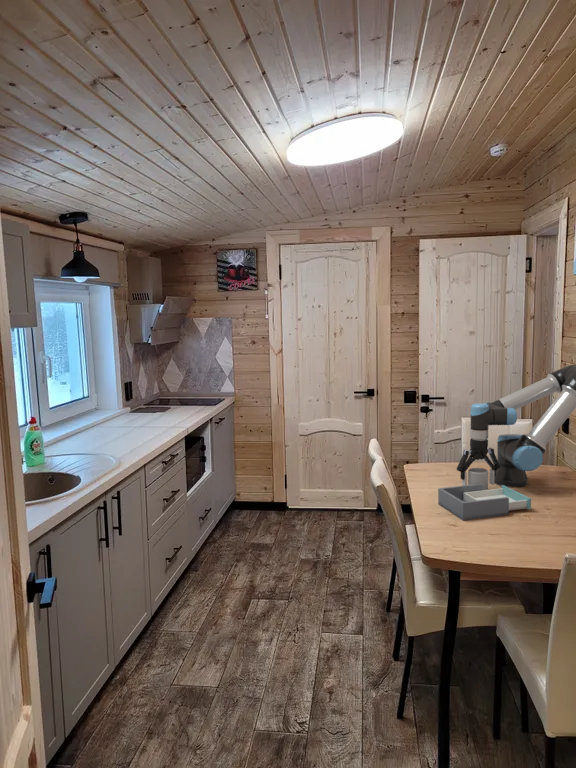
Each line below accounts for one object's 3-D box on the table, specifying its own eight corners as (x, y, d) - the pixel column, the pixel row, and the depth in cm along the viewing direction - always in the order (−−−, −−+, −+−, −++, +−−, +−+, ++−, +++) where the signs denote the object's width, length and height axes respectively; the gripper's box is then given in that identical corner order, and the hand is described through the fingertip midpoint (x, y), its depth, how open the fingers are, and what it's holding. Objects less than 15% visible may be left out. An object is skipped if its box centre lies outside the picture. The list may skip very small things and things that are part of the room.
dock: (480, 499, 240) (480, 483, 239) (508, 515, 221) (508, 497, 220) (438, 504, 236) (438, 488, 235) (463, 520, 216) (463, 503, 215)
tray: (503, 494, 241) (503, 485, 241) (530, 508, 223) (531, 498, 223) (461, 499, 237) (461, 489, 237) (486, 514, 219) (486, 503, 218)
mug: (486, 498, 241) (486, 473, 240) (466, 495, 246) (466, 471, 244) (491, 490, 252) (491, 466, 250) (471, 488, 256) (472, 464, 255)
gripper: (499, 435, 252) (498, 480, 254) (449, 438, 247) (448, 485, 249) (509, 438, 245) (507, 485, 247) (457, 442, 239) (457, 489, 242)
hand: (478, 485), depth 248 cm, fingers open, 13 cm apart
